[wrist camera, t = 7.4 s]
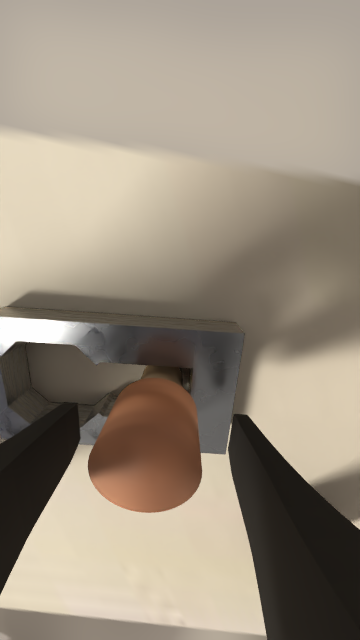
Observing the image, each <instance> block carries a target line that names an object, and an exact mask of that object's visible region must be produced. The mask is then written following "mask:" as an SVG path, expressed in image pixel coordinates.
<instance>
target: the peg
mask: <svg viewBox="0 0 360 640" xmlns="http://www.w3.org/2000/svg"><path fill="white" fill-rule="evenodd" d="M88 471H89V476H90V479H91V481H92V483H93V485H94V486H95V488H96V489H97V490H98V491H99V493H100V494H101V495H102V496H104V497H105V498H106V499H107V500H109V501H110V502H112V503H114V504H115V505H118V506H120V507H122V508H125V509H128V510H132V511H137V512H147V513H151V512H161V511H166V510H170V509H172V508H175V507H177V506H179V505H181V504H183V503H184V502H186V501H187V500H188V499H189V498H191V497H192V495H193V494H194V493H195V492H196V490H197V489H198V487H199V484H200V482H201V478H202V466H201V453H200V441H199V429H198V417H197V408H196V404H195V402H194V400H193V398H192V397H191V395H190V394H189V393H188V392H187V391H186V390H185V389H184V388H183V387H182V373H181V371H180V369H179V367H167V366H153V365H147V367H146V368H145V370H144V372H143V375H142V378H141V380H138V381H135V382H133V383H131V384H130V385H128V386H127V387H126V388H124V389H123V390H122V391H121V393H120V394H119V396H118V397H117V399H116V401H115V403H114V405H113V407H112V410H111V412H110V414H109V416H108V418H107V420H106V422H105V424H104V426H103V428H102V430H101V432H100V434H99V436H98V438H97V440H96V442H95V445H94V447H93V449H92V451H91V453H90V456H89V460H88Z"/></svg>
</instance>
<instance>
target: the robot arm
mask: <svg viewBox="0 0 360 640" xmlns="http://www.w3.org/2000/svg"><path fill="white" fill-rule="evenodd" d="M80 439H81V437H80V425H79V413H78V403H68V402H64V403H63V404H61V405H59V406H58V407H56V408H55V409H53V410H52V411H50V412H49V413H47V414H46V415H44V416H43V417H41V418H40V419H38V420H37V421H35V422H34V423H32V424H31V425H29V426H28V427H26V428H25V429H23V430H22V431H20V432H19V433H17V434H16V435H14V436H13V437H11V438H9V439H8V440H6V441H5V442H3V443H1V444H0V594H1V592H2V590H3V588H4V586H5V584H6V581H7V579H8V577H9V575H10V573H11V571H12V569H13V567H14V565H15V563H16V561H17V559H18V557H19V554H20V552H21V550H22V548H23V546H24V544H25V542H26V540H27V538H28V536H29V535H30V533H31V531H32V529H33V527H34V525H35V523H36V522H37V520H38V518H39V517H40V515H41V513H42V511H43V510H44V508H45V506H46V504H47V503H48V501H49V499H50V497H51V496H52V494H53V492H54V491H55V489H56V487H57V485H58V484H59V482H60V480H61V478H62V477H63V475H64V473H65V471H66V470H67V468H68V466H69V464H70V462H71V460H72V458H73V456H74V453H75V451H76V449H77V446H78V444H79V442H80ZM228 452H229V459H230V465H231V472H232V477H233V481H234V485H235V489H236V492H237V496H238V500H239V504H240V508H241V512H242V516H243V519H244V523H245V527H246V531H247V535H248V539H249V543H250V547H251V552H252V556H253V561H254V567H255V572H256V578H257V583H258V588H259V594H260V600H261V605H262V611H263V617H264V623H265V628H266V634H267V640H360V530H359V529H358V528H357V527H356V526H355V525H353V524H352V523H351V522H350V521H349V520H347V519H346V518H345V517H344V516H343V515H342V514H341V513H339V512H338V511H337V510H336V509H335V508H334V507H333V506H332V505H331V504H330V503H328V502H327V501H326V500H325V499H324V498H323V497H322V496H321V495H320V494H319V493H318V492H317V491H316V490H314V489H313V488H312V487H311V486H310V485H309V484H308V483H307V482H306V481H305V480H304V479H303V478H302V477H301V476H300V475H299V474H298V472H297V471H296V470H295V469H294V468H293V467H292V466H291V465H290V464H289V463H288V462H287V461H286V460H285V459H284V458H283V457H282V455H281V454H280V453H279V452H278V451H277V450H276V449H275V447H274V446H273V445H272V444H271V443H270V442H269V440H268V439H267V438H266V437H265V436H264V435H263V433H262V432H261V431H260V430H259V429H258V427H257V426H256V425H255V424H254V422H253V421H252V420H251V419H250V418H249V416H248V415H242V414H234V416H233V422H232V428H231V435H230V441H229V447H228Z"/></svg>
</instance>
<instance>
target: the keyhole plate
mask: <svg viewBox="0 0 360 640" xmlns="http://www.w3.org/2000/svg"><path fill="white" fill-rule="evenodd" d="M244 335H245V333H244V332H243V331H242V329H241V328H240V327H239V326H238V325H237V323H236V322H223V321H208V320H194V319H179V318H164V317H150V316H135V315H121V314H106V313H92V312H77V311H63V310H48V309H33V308H19V307H3V308H0V435H1V439H9V438H11V437H13V436H14V435H16V434H17V433H19V432H20V431H22V430H23V429H25V428H26V427H28V426H29V425H31V424H32V423H34V422H35V421H37V420H38V419H40V418H41V417H43V416H44V415H46V414H47V413H49V412H50V411H52V410H53V409H55V408H56V407H58V406H59V405H61V404H63V403H52V402H49V401H47V400H46V399H45V398H44V397H43V396H41V395H40V394H39V393H38V392H37V391H35V390H34V389H33V388H32V387H31V382H30V375H29V368H28V362H27V355H26V348H25V344H26V343H27V342H39V343H53V344H68V345H75V346H76V347H77V348H78V349H79V350H80V351H82V352H83V353H84V354H85V355H86V356H87V357H88V358H89V359H90V360H91V361H92V362H93V363H94V364H96V365H98V364H99V363H100V362H109V363H124V364H138V365H153V366H167V367H182V368H190V379H189V390H188V393H189V394H190V395H191V397H192V398H193V400H194V402H195V404H196V408H197V417H198V429H199V441H200V453H213V454H226V448H227V441H228V435H229V429H230V423H231V416H232V410H233V404H234V398H235V392H236V385H237V379H238V373H239V367H240V360H241V354H242V348H243V342H244ZM117 397H118V396H113V395H112V394H111V393H109V394H108V395H107V396H105V397H104V398H103V399H102V400H101V401H99V402H98V403H97V404H96V405H81V404H78V413H79V425H80V437H81V439H80V442H79V444H83V445H95V442H96V440H97V438H98V436H99V434H100V432H101V430H102V428H103V426H104V424H105V422H106V420H107V418H108V416H109V414H110V412H111V410H112V407H113V405H114V403H115V401H116V399H117Z"/></svg>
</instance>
